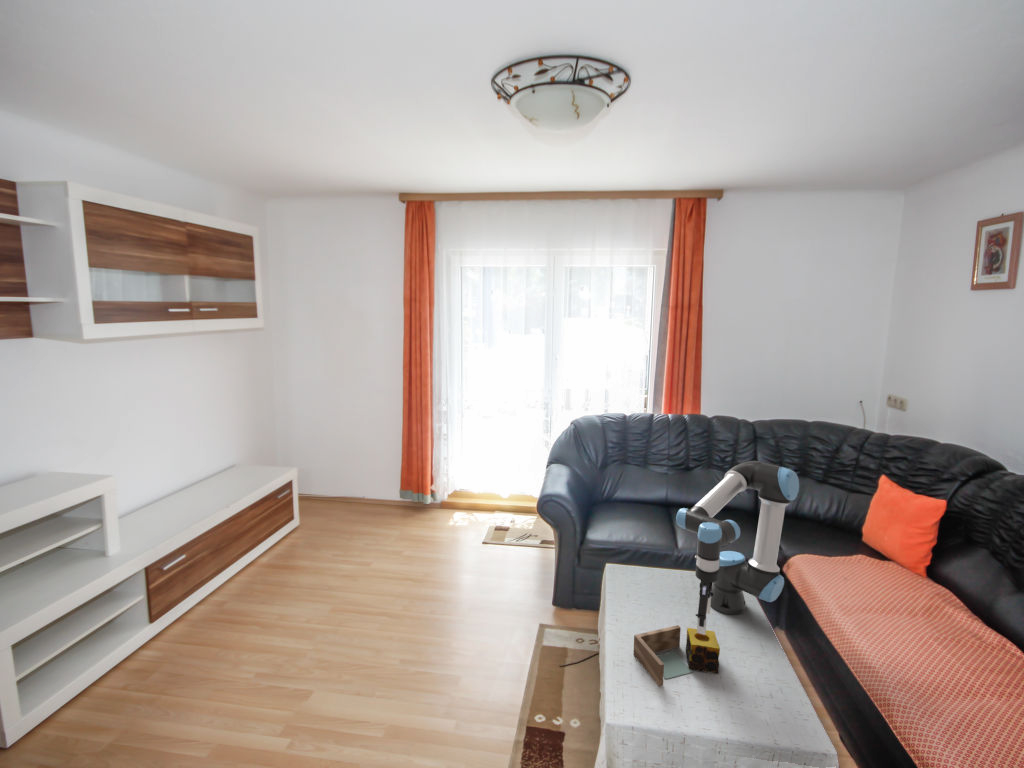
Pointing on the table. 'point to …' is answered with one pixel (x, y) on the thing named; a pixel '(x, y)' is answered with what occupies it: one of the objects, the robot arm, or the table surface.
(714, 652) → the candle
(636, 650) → the corner walls
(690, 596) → the table surface
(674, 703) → the table surface
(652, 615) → the table surface
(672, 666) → the mat
